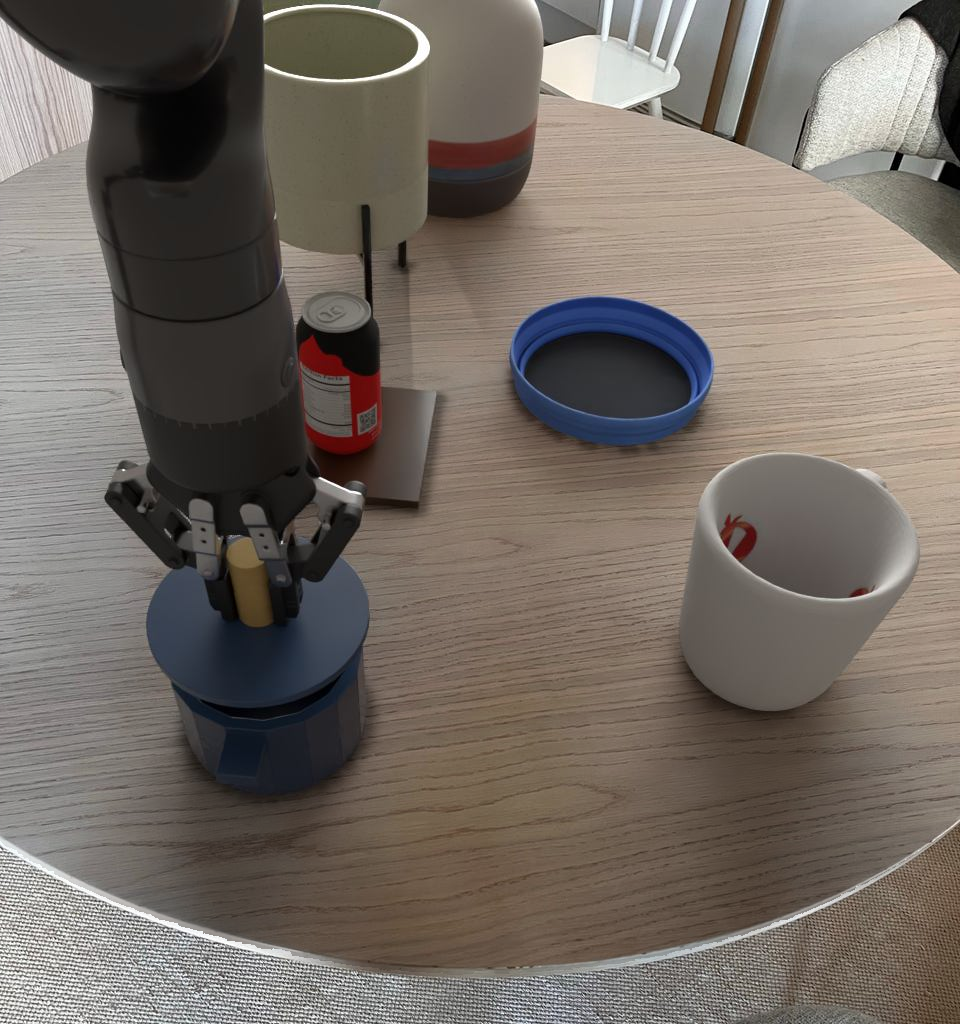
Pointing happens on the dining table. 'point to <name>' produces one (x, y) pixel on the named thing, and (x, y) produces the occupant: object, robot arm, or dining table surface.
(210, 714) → the pot
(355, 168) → the planter
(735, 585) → the cup
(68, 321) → the dining table surface
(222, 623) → the pot lid
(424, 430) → the trivet
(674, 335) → the bowl
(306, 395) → the beverage can
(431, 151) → the vase
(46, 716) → the dining table surface
